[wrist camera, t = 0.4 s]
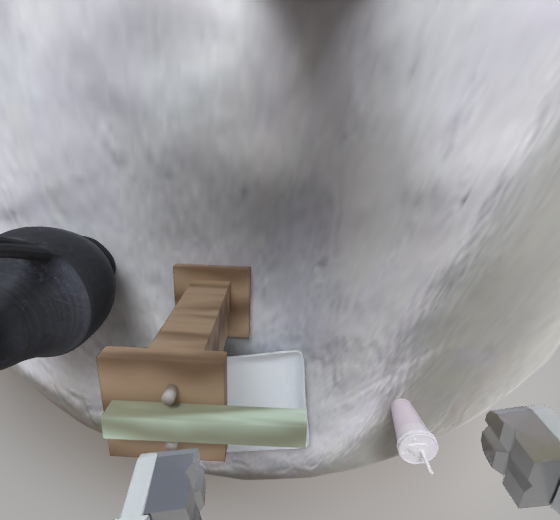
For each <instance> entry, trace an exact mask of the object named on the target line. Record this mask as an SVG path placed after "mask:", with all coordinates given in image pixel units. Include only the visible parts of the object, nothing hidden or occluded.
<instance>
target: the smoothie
mask: <svg viewBox="0 0 560 520" xmlns="http://www.w3.org/2000/svg"><path fill="white" fill-rule="evenodd" d="M391 412H392V417H393V422H394V427H395V432H396V437H397V451H398V453H399V455H400V457H401V458H402V459H403V460H404V461H405V462H407V463H410V464H423V463H425V464H426V467H427V469H428V472H429V474H430V476H433V475H434V474H433V471H432V469H431V467H430V464H429V461H430V460H432V459H433V458H434V457H435V456H436V454H437V452H438V448H439V447H438V443H437V441H436V438H435V436H434V435H433V434H432V433H430V432H429V430H428V429H427V427H426V426H425V424H424V423H423V421H422V420H421V418H420V417H419V415H418V414H417V412H416V411H415V409H414V408H413V406H412V405H411V403H410V402H409V401H408V400H407V399H402V398H401V399H397V400H395V401H394V402H393V403H392V404H391Z"/></svg>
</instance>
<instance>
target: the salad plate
mask: <svg viewBox="0 0 560 520" xmlns="http://www.w3.org/2000/svg"><path fill="white" fill-rule="evenodd" d="M227 405H229V406H250V407H271V408H292V409H306V419H307V435H306V447H308V446H309V443H310V436H309V427H308V417H307V407H306V393H305V365H304V357H303V354H302V353H301V352H300V351H298V350H286V351H278V352H270V353H261V354H249V355H235V356H227ZM306 447H305V448H306ZM284 449H301V448H292V447H271V446H250V445H229V444H228V447H227V453H228V452H246V451H264V450H284Z"/></svg>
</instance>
